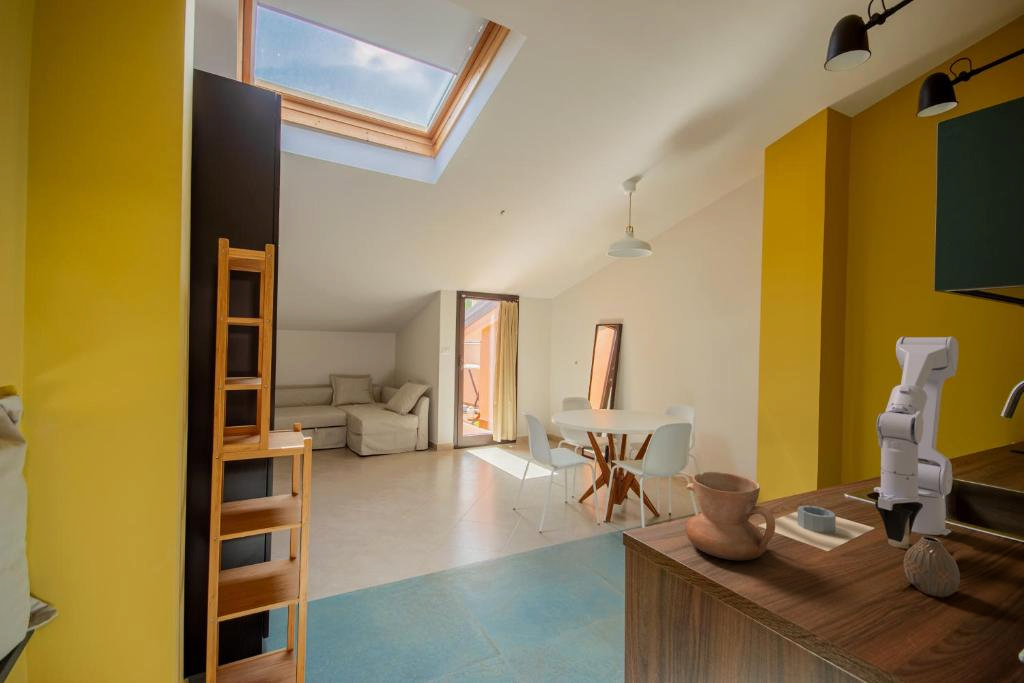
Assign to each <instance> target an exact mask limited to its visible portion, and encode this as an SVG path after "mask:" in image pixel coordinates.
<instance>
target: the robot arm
mask: <svg viewBox="0 0 1024 683" xmlns="http://www.w3.org/2000/svg"><path fill="white" fill-rule="evenodd" d="M895 355H896V358H897V361H898V363H899V367H900V369H901V370H902V375H901V381H900V384H898V385H895V386H894V387H893V388H892V390H891V393H890V396H889V399H888V402H887V406H886V408H885V411H884V412H883V413H879V414H878V416H877V419H876V434H877V437H878V446H879V447H880V452H881V453H880V486H875V487H873V492H874V493H878V494H879V496H878V500H877V501H875V502H874V505H875V506H874V507H875V509H876V510H877V512H878V513H879V515H880V517H881V519H882V522H883V525H884V528H885V534H886V536H887V538H888V539H891V540H895V541H898V542H902V540H903V537H904V532H905V526H906V523H907V520H908V518H909V537H910V536H911V534H912V532H915V533H917V534H923V535H927V536H928V535H931V536H934V535H935V536H939V535H943V536H947V535H949V534H950V533H952V530H951V529H950V528H949V529H948V528H946V501H945V499H944V498H943V496H948V494H950V493H951V492H952V488H953V487H952V486H953V472H952V470H953V468H952V467H953V465H952V463H951V460H950V459H949V458H948V457H947V456H945V455H944V454H942V453H941V452H940V451H938V450H937V449H936V448H937V443H938V442H937V440H938V432H939V431H938V430H939V420H940V411H941V410H940V409H941V400H942V391H943V386H944V384H945V381H946V379H949V378H952V377H955V376H956V371H957V370H958V360H959V343H958V340H957V339H956V338H955V337H954V336H947V337H946V336H945V337H944V336H943V337H941V336H940V337H939V336H938V337H937V336H936V337H934V336H933V337H931V336H929V337H928V336H927V337H925V336H923V337H921V336H919V337H910V336H909V337H907V336H901V337H900V338H899V339H898V340H897V341H896V345H895ZM888 539H887V540H888Z"/></svg>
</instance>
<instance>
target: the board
mask: <svg viewBox="0 0 1024 683" xmlns="http://www.w3.org/2000/svg"><path fill="white" fill-rule="evenodd" d="M774 520H775V532H774V534H775V533H776V534H778V535H781V536H784V537H787V538H790V539H791V540H794V541H798V542H801V543H803V544H807V545H809V546H812V547H815V548H817V549H820V550H823V551H825V552H830V551H832V550H834V549H836V548H838V547H839V546H841V545H843V544H846V543H848V542H850V541H852V540H854V539H856V538H858V537H860V536H862V535H864V534H866V533H869V532H871V531H873V530H874V529H876V528H875V527H873V526H869V525H865V524H863V523H859V522H856V521H852V520H849V519H845V518H842V517H839V516H836V521H835V532H833V533H818V532H813V531H810V530H807V529H804V528H802V527H801V526H799V525H798V510H797V511H794V512H792V513H789V514H785V515H782V516H781V517H777V518H774ZM757 527H759V528H761V529H765V530H766V522H764V523H761V524H758V525H757Z"/></svg>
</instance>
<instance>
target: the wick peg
mask: <svg viewBox="0 0 1024 683" xmlns="http://www.w3.org/2000/svg"><path fill="white" fill-rule="evenodd" d="M887 540H888V541H887V542H888V544H889V545H890V546H892V547H895V548H898V549H899V548H900V549H903V550H908V549H909V548H910V536H909V518H908V520H907V523H906V526H905V532H904V537H903V540H902V542H898V541H895V540H891V539H887Z"/></svg>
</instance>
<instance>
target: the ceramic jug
mask: <svg viewBox="0 0 1024 683" xmlns="http://www.w3.org/2000/svg"><path fill="white" fill-rule="evenodd" d="M686 489H687V490H689V491H692V492H694V494H695V495H696V498H697V502H698V505H699V507H700V509H701V512H700V513H698V514H696V515H694V516H693V515H692V517H689V518H688V520H687V522H686V523H685V534H686V537H687V538H688V541H690V543H691V544H692V545H693V546H694V547H695V548H697V549H699V551H700V552H701V551H702V552H703V553H705V554H707V555H710V556H712V557H715V558H720V559H721V560H728V561H748V560H754V559H757V558H759V557H760V556H762V555H763V554H764V553H765V552H766V549H767V545H768V544H769V542H771V540H772V539H773V538H774V534H775V520H774V519H775V516H774V515H773V513H772V512H771V511H770V510H769V509H767V508H765V507H764V506H761V505H760V506H759V505H757V502H758V501H759V500H758V499H759V496H760V490H761V486H760V484H759V483H758V482H757V481H755V480H753V478H750V477H746V476H743V475H740V474H735V473H730V472H729V473H728V472H723V471H722V472H720V471H719V472H718V471H702V472H701V473H699V472H697V473H695V474H693V476H692V482H691V483H688V484H687V486H686ZM756 514H759V515H761V516H763V517H764V519H765V523H766V529H765V532H764V534H763V533H762V531H761V530H760V529H759V528H758V526H755V525H754V524H753V523H752V522H751V521H750V520H749V519H750V517H752V516H754V515H756Z"/></svg>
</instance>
